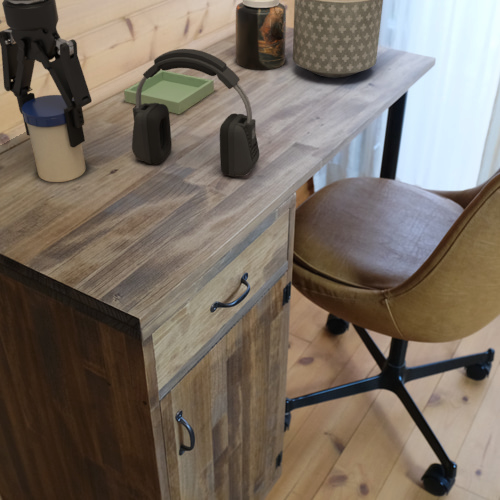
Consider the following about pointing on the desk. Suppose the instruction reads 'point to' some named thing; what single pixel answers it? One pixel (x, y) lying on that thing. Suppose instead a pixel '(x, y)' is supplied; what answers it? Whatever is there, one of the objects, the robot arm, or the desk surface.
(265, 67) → the jar
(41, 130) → the cream jar
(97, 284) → the desk surface
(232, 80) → the headphones
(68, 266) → the desk surface
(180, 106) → the tray
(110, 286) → the desk surface
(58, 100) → the lid
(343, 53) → the planter
